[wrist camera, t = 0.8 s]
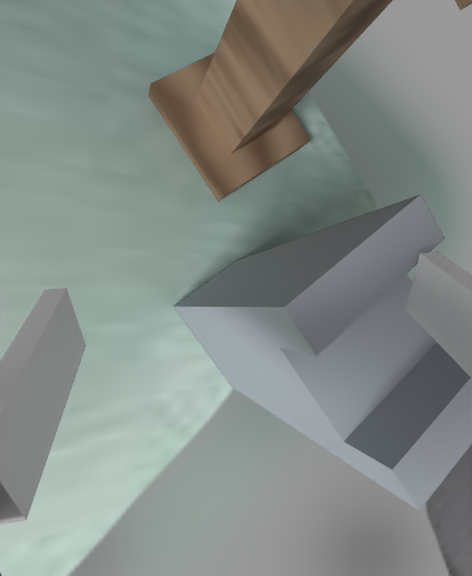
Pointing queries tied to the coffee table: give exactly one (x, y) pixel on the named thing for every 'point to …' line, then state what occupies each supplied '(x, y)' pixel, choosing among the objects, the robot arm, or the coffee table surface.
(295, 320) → the slotted block
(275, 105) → the walnut stand
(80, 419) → the coffee table surface
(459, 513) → the coffee table surface
